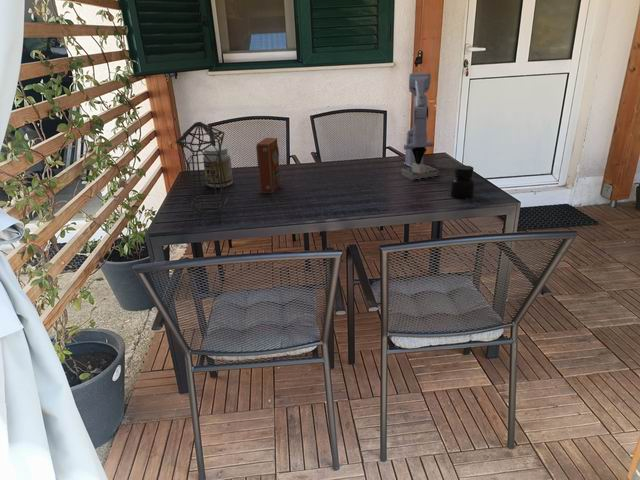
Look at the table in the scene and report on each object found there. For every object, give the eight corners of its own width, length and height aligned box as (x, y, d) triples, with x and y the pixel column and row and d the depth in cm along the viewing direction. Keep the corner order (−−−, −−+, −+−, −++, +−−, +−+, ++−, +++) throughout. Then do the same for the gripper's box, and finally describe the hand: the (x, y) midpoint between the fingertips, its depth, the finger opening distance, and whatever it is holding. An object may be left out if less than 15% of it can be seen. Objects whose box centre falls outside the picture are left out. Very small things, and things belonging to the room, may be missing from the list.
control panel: (282, 184, 209) (273, 194, 196) (268, 183, 211) (257, 193, 197) (279, 137, 201) (269, 144, 187) (264, 137, 202) (253, 144, 189)
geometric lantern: (233, 205, 185) (224, 117, 170) (227, 220, 170) (216, 126, 155) (194, 206, 184) (181, 118, 169) (185, 221, 170) (170, 127, 155)
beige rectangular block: (411, 173, 216) (412, 163, 214) (417, 173, 216) (417, 162, 214) (419, 177, 210) (419, 166, 208) (425, 176, 210) (425, 166, 208)
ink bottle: (477, 195, 186) (480, 166, 182) (470, 201, 180) (473, 171, 175) (453, 191, 192) (456, 163, 187) (446, 197, 185) (448, 168, 180)
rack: (400, 175, 216) (401, 168, 215) (426, 171, 221) (426, 165, 219) (411, 180, 208) (411, 173, 207) (438, 176, 212) (438, 170, 211)
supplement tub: (201, 187, 209) (196, 150, 202) (214, 180, 219) (210, 144, 212) (225, 189, 205) (221, 151, 198) (237, 181, 216) (233, 145, 209)
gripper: (410, 137, 200) (408, 167, 206) (438, 133, 205) (436, 163, 210) (402, 134, 206) (400, 163, 212) (429, 131, 211) (428, 160, 216)
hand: (418, 163), depth 211 cm, fingers closed
